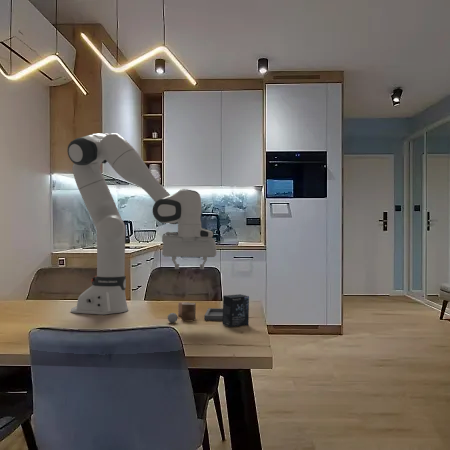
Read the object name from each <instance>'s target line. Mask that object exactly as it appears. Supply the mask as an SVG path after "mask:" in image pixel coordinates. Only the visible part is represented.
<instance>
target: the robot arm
mask: <svg viewBox="0 0 450 450" xmlns="http://www.w3.org/2000/svg"><path fill="white" fill-rule="evenodd" d="M67 155H68V158H69V160H70V161H71V162H72V163H73V164H72V174H73V178H74V180H75V181H74V182H75V183H76V186H77V188H78V191H79V193H80V196H81V198H82V200H83V202H84V205H85V207H86V209H87V212H88V213H89V215H90V217H91V219H92V222H93V224H94V226H95V229H96V275H94V277H92V278H91V283H92V285H91V286H90V287H88V288H87V289H86V290H84V291H83V292H82V293H81V294H80V295H78V298H77V302H76V306H74V307H72V308H71V309H70V312H71V313H73V314H92V315H110V314H119V313H124V312H127V311H129V307H128V302H127V298H126V288H127V284H126V283H127V279H126V273H125V272H126V271H125V270H126V269H125V266H126V265H125V263H126V258H125V257H126V225H125V222H124V220H123V219H122V216H121V214H120V212H119V209H118V208H117V205H116V203H115V200H114V198H113V195H112V193H111V191H110V189H109V186H108V184H107V182H106V179H105V177H104V175H103V173H102V169H101V165H102V164H106V163H109V165H110V166H111V168H112V169H113V170H114V172H115V173H116V174H118V175H119V176H120V177H121V178H122V179H123V180H124V181H126V182H129V183H130V184H133V185H136V186H137V187H139V188H140V189H142V190H144V191H145V192H146V194H148V196H149V197H150V199H152V200H153V202H154V204H153V206H152V215H153V217H154V219H155V220H156V221H158V222H160V223H162V224H170V225H177V232H176V231H174V232H173V231H172V232H169V231H167V232H165V233H163V235H162V236H161V238H162V239H161V242H162V244H163V245H162V256H163V257H168V258H170V257H171V260H172V263H173V264H174V270H179V269H180V264H179V263H177V261H176V260H177V257H178V258H179V257H180V258H186V257H187V258H202V260H203V261H202V263H200V264H199V270H205V264H206V262H207V261H208V258H215V257H216V256H217V244H216V241H215V238H213V236H214V232H213V231H211V230H209V229H206V228H204V227H202V221H201V216H202V198H201V194H200V193H199V192H198V191H197V190H193V189H189V188H181V189H179V190H178V191H177V192H175V193H173V194H170V192H168V191H167V190H166V189H165V188H164V186H163V185H162V184H161V183H160V182H159V181H158V180H157V179H156V177H155V176H154V175H153V173H152V172H151V170H150V169H149V167H148V166H147V164H146V163H145V161H144V160H143V158H142V157H141V155H140V154H139V153H138V152H137V150H136V149H135V148H134V147H133V146H132V145H131V144H130V142H129V141H127V140H126V138H124V137H123V136H122V135H120V134H118V133H115V132H114V133H113V132H112V133H108V132H107V133H105V132H100V133H91V134H88V135H85V136H81V137H77V138H75V139H73V140H71V141H70V142H69V144H68V145H67Z"/></svg>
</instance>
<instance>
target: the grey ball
mask: <svg viewBox="0 0 450 450" xmlns="http://www.w3.org/2000/svg"><path fill="white" fill-rule="evenodd" d="M178 317H179V316H178V314H176V313H175V312H171V313H169V314H168V316H167V321H168V322H169V323H171V324H174V323H176V322H177V321H178Z"/></svg>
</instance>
